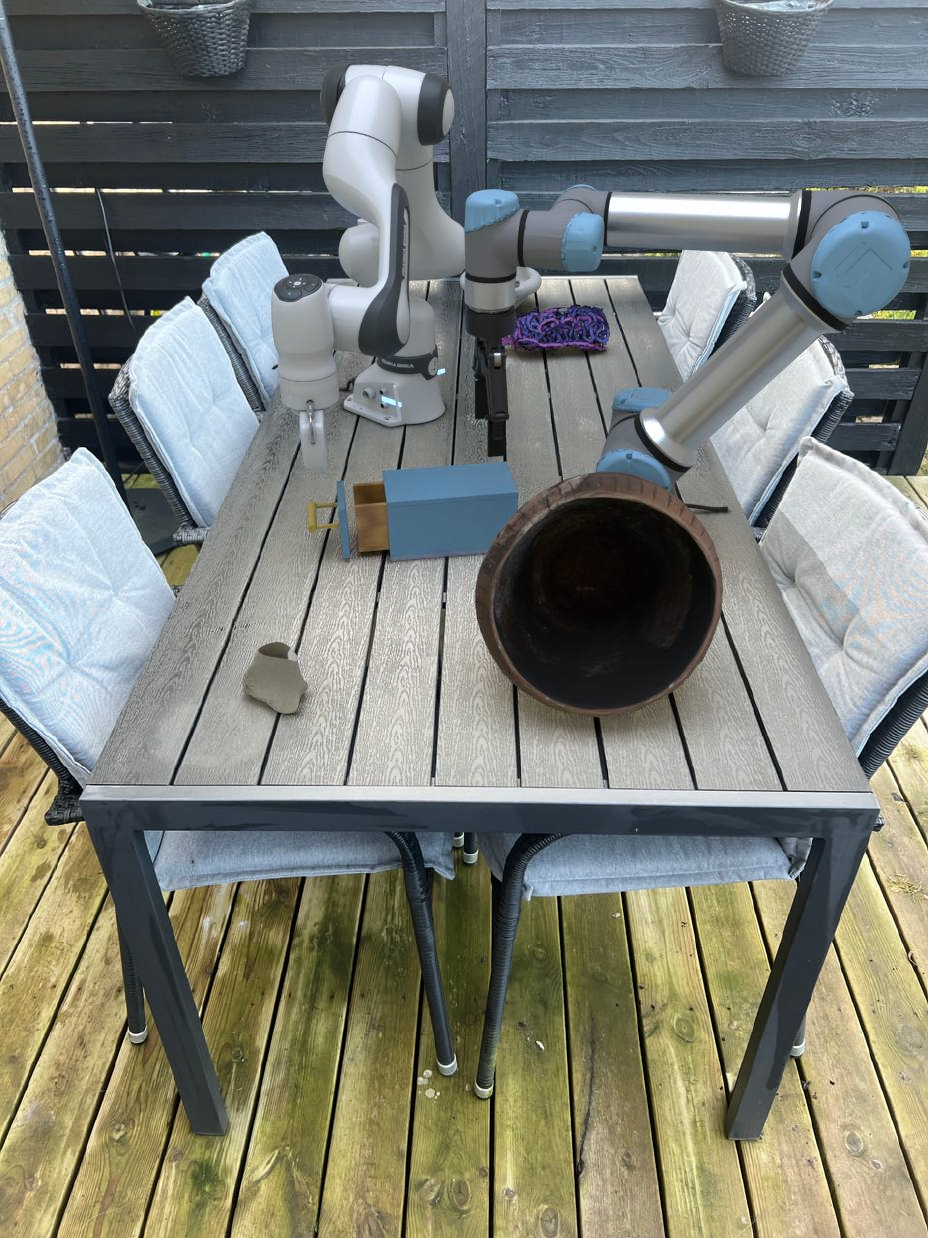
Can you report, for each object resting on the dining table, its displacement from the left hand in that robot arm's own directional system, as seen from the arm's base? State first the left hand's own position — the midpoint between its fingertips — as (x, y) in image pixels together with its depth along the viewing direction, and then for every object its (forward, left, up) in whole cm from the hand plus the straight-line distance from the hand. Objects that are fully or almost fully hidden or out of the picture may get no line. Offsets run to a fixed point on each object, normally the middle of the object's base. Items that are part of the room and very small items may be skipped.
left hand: (319, 469), depth 150 cm
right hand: (+22, +17, +4) cm, 28 cm away
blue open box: (+17, +13, -15) cm, 26 cm away
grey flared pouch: (+17, -34, -15) cm, 41 cm away
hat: (-31, +119, -15) cm, 124 cm away
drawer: (+8, +6, -14) cm, 17 cm away
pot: (+51, -4, -15) cm, 53 cm away
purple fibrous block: (-6, +98, -15) cm, 99 cm away
